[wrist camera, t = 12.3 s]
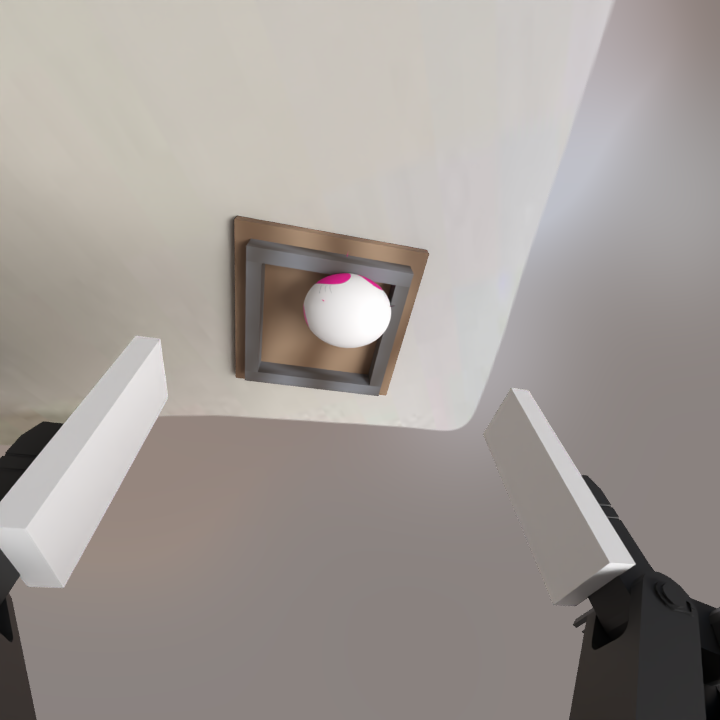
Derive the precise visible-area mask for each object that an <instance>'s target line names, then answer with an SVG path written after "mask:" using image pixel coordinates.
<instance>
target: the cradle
mask: <svg viewBox="0 0 720 720" xmlns="http://www.w3.org/2000/svg"><path fill="white" fill-rule="evenodd" d="M234 240H235V359H236V378H244V379H245V380H247V381H256V382H264V383H273V384H281V385H290V386H298V387H306V388H315V389H323V390H332V391H340V392H349V393H357V394H366V395H374V396H379V395H386V394H387V391H388V387H389V384H390V381H391V377H392V374H393V371H394V368H395V364H396V361H397V358H398V354H399V351H400V348H401V345H402V341H403V338H404V335H405V331H406V328H407V325H408V322H409V318H410V315H411V312H412V308H413V305H414V302H415V299H416V295H417V292H418V289H419V286H420V282H421V279H422V276H423V272H424V269H425V266H426V263H427V259H428V256H429V253H428V251H427V250H424V249H419V248H413V247H408V246H402V245H396V244H391V243H385V242H380V241H374V240H369V239H363V238H358V237H352V236H347V235H341V234H335V233H330V232H324V231H319V230H313V229H308V228H302V227H297V226H291V225H286V224H280V223H275V222H269V221H263V220H258V219H252V218H247V217H241V216H237V217H236V218H235V219H234ZM347 254H348V255H347ZM340 273H351V274H357V275H361V276H364V277H366V278H368V279H370V280H372V281H373V282H375V283H376V284H377V285H379V286H380V287H381V288H382V290H383V291H384V292H385V294H386V295H387V297H388V299H389V302H390V306H392V307H391V318H390V322H389V325H388V327H387V329H386V330H385V332H384V333H383V334H382V335H381V336H380V337H379V338H378V339H377V340H375V341H373V342H372V343H370V344H367V345H365V346H361V347H356V348H342V347H337V346H333V345H330V344H328V343H326V342H324V341H322V340H321V339H319V338H318V337H317V336H316V335H315V334H314V333H313V332H312V331H311V330H310V328H309V327H308V325H307V323H306V321H305V317H304V312H303V305H304V300H305V297H306V295H307V293H308V291H309V290H310V289H311V287H312V286H313V285H314V284H316V283H317V282H318V281H320V280H321V279H323V278H325V277H327V276H330V275H334V274H340Z"/></svg>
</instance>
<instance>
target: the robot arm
mask: <svg viewBox="0 0 720 720" xmlns="http://www.w3.org/2000/svg"><path fill="white" fill-rule="evenodd" d="M167 399H168V391H167V384H166V377H165V370H164V363H163V355H162V348H161V341H160V339H158V338H151V337H144V336H137V335H136V336H135V337H134V338H133V340H132V341H131V342H130V343H129V345H128V346H127V347H126V348H125V350H124V351H123V352H122V353H121V354H120V356H119V357H118V358H117V359H116V361H115V362H114V363H113V364H112V365H111V367H110V368H109V369H108V370H107V372H106V373H105V374H104V375H103V376H102V378H101V379H100V380H99V381H98V383H97V384H96V385H95V386H94V388H93V389H92V390H91V391H90V392H89V394H88V395H87V396H86V397H85V399H84V400H83V401H82V402H81V403H80V405H79V406H78V407H77V408H76V410H75V411H74V412H73V413H72V414H71V416H70V417H69V418H68V419H67V421H66V422H65V423H64V424H62V423H52V422H42V423H40V424H38V425H37V426H35V427H34V428H32V429H31V430H29V431H27V432H26V433H24V434H23V435H21V436H20V437H19V438H18V439H17V441H16V442H15V443H14V444H13V445H12V446H11V447H10V448H9V449H8V450H7V452H6V454H5V456H2V457H1V458H0V720H36V715H35V711H34V705H33V700H32V695H31V690H30V685H29V681H28V676H27V671H26V666H25V661H24V656H23V651H22V646H21V642H20V636H19V632H18V627H17V622H16V617H15V612H14V607H13V602H12V598H11V596H10V594H9V592H10V590H11V589H12V587H13V585H14V584H15V582H16V581H17V579H18V578H19V576H20V577H21V579H22V580H23V581H24V582H25V584H26V585H27V586H28V587H52V588H64V586H65V585H66V583H67V581H68V579H69V577H70V575H71V574H72V572H73V570H74V568H75V566H76V565H77V563H78V561H79V559H80V557H81V555H82V554H83V552H84V550H85V548H86V546H87V545H88V543H89V541H90V539H91V537H92V535H93V533H94V532H95V530H96V528H97V526H98V524H99V522H100V521H101V519H102V517H103V515H104V514H105V512H106V510H107V508H108V506H109V505H110V503H111V501H112V499H113V497H114V495H115V494H116V492H117V490H118V488H119V486H120V485H121V483H122V481H123V479H124V477H125V475H126V474H127V472H128V470H129V468H130V466H131V465H132V463H133V461H134V459H135V457H136V455H137V454H138V452H139V450H140V448H141V446H142V444H143V443H144V441H145V439H146V437H147V435H148V434H149V432H150V430H151V428H152V426H153V424H154V423H155V421H156V419H157V417H158V415H159V414H160V412H161V410H162V408H163V406H164V405H165V403H166V401H167ZM483 435H484V438H485V440H486V442H487V445H488V447H489V450H490V452H491V455H492V457H493V459H494V462H495V464H496V467H497V469H498V471H499V474H500V477H501V479H502V481H503V484H504V486H505V489H506V491H507V494H508V496H509V498H510V501H511V503H512V506H513V508H514V511H515V513H516V515H517V518H518V520H519V523H520V525H521V528H522V530H523V533H524V535H525V537H526V540H527V542H528V545H529V547H530V550H531V552H532V554H533V557H534V559H535V562H536V564H537V567H538V569H539V571H540V574H541V576H542V579H543V581H544V584H545V586H546V589H547V591H548V594H549V596H550V598H551V601H552V603H553V605H561V606H562V605H563V606H577V605H578V604H580V603H581V602H582V601H584V600H585V599H587V598H589V600H590V602H591V604H592V606H593V608H592V609H591V610H589V611H588V612H586V613H584V614H583V615H581V616H580V617H579V618H577V619H576V620H575V622H574V624H573V625H574V626H575V627H576V628H577V627H579V626H580V625H582V624H583V623H585V622H586V626H585V629H584V630H583V631H582V632H583V633H584V637H583V643H582V649H581V655H580V660H579V667H578V672H577V677H576V683H575V690H574V695H573V701H572V707H571V712H570V718H569V720H720V607H719V608H714V607H711V606H709V605H707V604H704V603H701V602H699V601H697V600H694V599H691V598H690V597H689V595H688V594H687V593H686V592H685V591H684V590H683V589H682V588H681V586H680V585H678V584H677V583H676V582H674V581H673V580H672V579H671V578H669V577H668V576H665V575H664V574H662V573H659V572H655V571H654V570H653V569H652V567H651V566H650V564H648V561H647V560H646V559H645V557H644V555H643V554H642V552H641V551H640V549H639V548H638V546H637V544H636V543H635V541H634V540H633V538H632V537H631V535H630V534H629V532H628V530H627V529H626V527H625V526H624V524H623V523H622V521H621V520H619V519H618V515H617V514H616V512H615V510H614V509H613V508H612V507H611V506H610V505H611V504H610V503H609V501H608V500H607V498H606V496H605V495H604V493H603V492H602V490H601V489H600V488H599V487H598V486H597V485H596V484H595V483H594V482H593V481H592V480H591V479H590V478H589V477H588V476H586V475H580V473H579V471H578V470H577V468H576V466H575V465H574V463H573V462H572V460H571V458H570V457H569V455H568V454H567V452H566V450H565V449H564V447H563V446H562V444H561V442H560V441H559V439H558V437H557V436H556V434H555V432H554V431H553V429H552V428H551V426H550V424H549V423H548V421H547V420H546V418H545V416H544V415H543V413H542V411H541V410H540V408H539V407H538V405H537V403H536V402H535V400H534V399H533V397H532V395H531V394H530V392H529V391H528V390H522V389H515V388H511V389H510V391H509V392H508V394H507V396H506V397H505V399H504V400H503V402H502V404H501V405H500V407H499V409H498V410H497V412H496V414H495V415H494V417H493V418H492V420H491V422H490V423H489V425H488V427H487V428H486V430H485V432H484V433H483Z"/></svg>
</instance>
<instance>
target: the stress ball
mask: <svg viewBox="0 0 720 720" xmlns="http://www.w3.org/2000/svg"><path fill="white" fill-rule="evenodd" d="M347 255H348V254H347ZM391 307H392V306H390V302H389V299H388V297H387V295H386V294H385V292H384V291H383V290H382V288H381V287H380V286H379V285H377V284H376V283H375V282H373V281H372V280H370V279H368V278H366V277H364V276H361V275H357V274H351V273H340V274H334V275H330V276H327V277H325V278H323V279H321V280H320V281H318V282H317V283H316V284H314V285H313V286H312V287H311V289H310V290H309V291H308V293H307V295H306V297H305V300H304V305H303V312H304V317H305V321H306V323H307V325H308V327H309V328H310V330H311V331H312V332H313V333H314V334H315V335H316V336H317V337H318V338H319V339H321V340H322V341H324V342H326V343H328V344H330V345H333V346H337V347H342V348H356V347H361V346H365V345H367V344H370V343H372V342H373V341H375V340H377V339H378V338H379V337H380V336H381V335H382V334H383V333H384V332H385V330H386V329H387V327H388V325H389V322H390V318H391Z"/></svg>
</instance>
